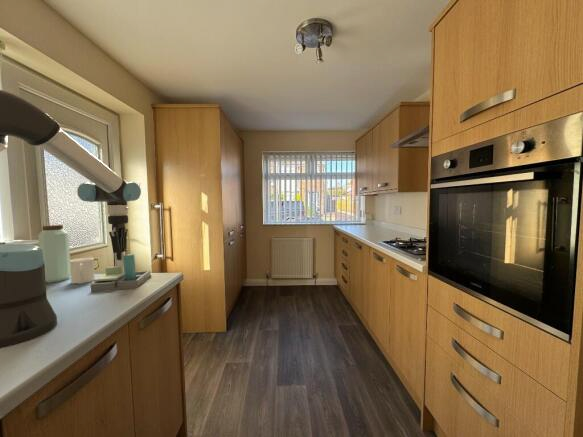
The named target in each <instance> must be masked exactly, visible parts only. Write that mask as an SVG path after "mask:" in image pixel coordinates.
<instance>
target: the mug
mask: <svg viewBox="0 0 583 437" xmlns="http://www.w3.org/2000/svg"><path fill="white" fill-rule="evenodd" d="M94 261H95V259H94V257H88V256H87V257H80V258H79V257H78V258H73V259H70V270H71V276H70V279H71V280H70V282H71V284H74V283H78V284H84V282H85V283H88V282H89V281H90V282H91V281H94V279H96V277H95V276H96V275H95V262H94Z"/></svg>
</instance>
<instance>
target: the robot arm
mask: <svg viewBox="0 0 583 437" xmlns="http://www.w3.org/2000/svg"><path fill="white" fill-rule="evenodd" d="M61 128H62V126H61V124H60V123H59V122H58V121H56V120H55V119H54V118H53V117H52V116H50V115H49V114H48V113H47V112H45V111H44V110H42V109H41V108H39V107H38V106H37V105H34V104H33V103H31V102H30V101H28V100H26V99H24V98H22V97H20V96H18V95H16V94H15V93H11V92H8V91H6V90H2V89H0V153H1V152H3V151H6V150H7V149H8V139H9V138H8V137H15V138H17V139H20V140H22V141H23V142H25V143H27V144H29V145H30V146H32V147H40V148H41V149H42V150H44V151H45V152H47V153H48V154H50V155H51V156H53V157H54V158H55V159H57V160H58V161H60V162H62V163H63V164H64V165H66V166H67V167H69V168H71V169H72V170H73V171H75V172H76V173H78V174H79V175H81V176H82V177H84V178H85V179H87V180H89V182H82V183H80V185H79V186H78V187H77V189H76V192H77V196H78V198H79V199H80V200H81V201H83V202H87V203H88V202H89V203H95V202H97V203H98V202H99V203H103V202H105V203H106V204H107V205H106V207H107V208H106V210H107V212H106V213H107V215H108V216H107V223H108V224H109V225H112V226H111V231H108V234H109V236H110V242H111V247H112V251H113V254H115V258H116V267H118V266H122V268H124V263H123V255H125V252H127V244H128V242H127V241H128V231H129V230H128V229H129V228H126V225H125V224H128V223H129V216H128V213H129V212H128V210H129V207H128V202H134V201H137V200H138V199H140V197H141V195H142V189H141V187H140V185H139V184H138V183H136V182H132V181H126V180H125V179H124V178H122V177H121V176H120V175H118V174H117V173H116V172H115V171H113V170H112V169H111V168H110V167H109V166H107V165H106V164H105V163H103V162H102V160H100V159H98V158H97V157H96V156H94V155H93V153H91V152H90V151H88V149H86V148H85V147H84V146H82V145H81V144H80V143H79V142H77V141H76V140H75V139H73V138H72V137H71V136H70V135H68V133H67V132H65V131H63V130H62V129H61ZM44 262H45V259H44V255H43V251H42V249H41V248H40V247H39V245H37V244H29V243H6V241H5V240H4V239H2V238H1V237H0V348H3V347H8V346H12V345H15V344H19V343H22V342H26V341H29V340H31V339H34V338H36V337H40V336H42V335H44V334H46V333H48V332H50V331H51V330H53V329H54V328H56V326H57V325H58V316H57V313H56V312H55V310H54V309H53V306H52V305H51V302H50V301H49V300H48V296H47V284H46V283H47V282H46V280H45V264H44Z"/></svg>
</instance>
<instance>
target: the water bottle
mask: <svg viewBox="0 0 583 437" xmlns="http://www.w3.org/2000/svg"><path fill="white" fill-rule="evenodd" d="M37 238H38V239H37V240H38V247H40V248H41V249H42V251H43V255H44V259H45V262H44V264H45V280H46V283H48V284H49V283H57V282H58V283H59V282H62V281H66V280H68V279H69V278H71V270H70V261H71V255H70V254H71V253H70V252H71V251H70V242H69V241H70V239H69V238H70V236H69V232H68V231H66V230H65V229H64V224H53V225H51V224H50V225H42V230H41V232H39V233H38V235H37Z"/></svg>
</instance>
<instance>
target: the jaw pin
mask: <svg viewBox="0 0 583 437" xmlns="http://www.w3.org/2000/svg"><path fill="white" fill-rule="evenodd" d="M123 263H124V267H123V269H124V272H123V273H125V281H129V280H137V279H136V272H137V269H136V261H135V253H134V254H133V253H129V254H124V255H123Z"/></svg>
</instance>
